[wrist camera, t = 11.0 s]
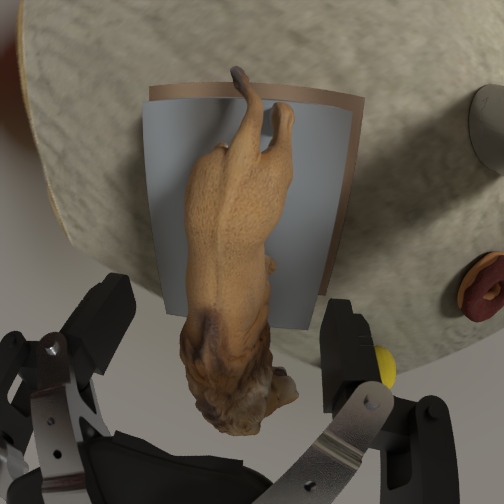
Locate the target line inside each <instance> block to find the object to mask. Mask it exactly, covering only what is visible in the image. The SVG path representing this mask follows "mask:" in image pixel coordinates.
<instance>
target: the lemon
mask: <svg viewBox="0 0 504 504" xmlns="http://www.w3.org/2000/svg"><path fill="white" fill-rule="evenodd" d="M373 347H374V348H375V352H376V357H377V361H378V366H379V370H380V375H381V380H382V383H383V384H384V385H385V386H387V387H388V388H389V389H390V388H391V387H392V385H393V384H394V382H395V378H396V365H395V361H394V359H393V357H392V355H391V353H390V352H389V351H388V350H387V349H385V348H383V347H381V346H373Z"/></svg>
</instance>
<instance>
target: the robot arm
mask: <svg viewBox="0 0 504 504" xmlns="http://www.w3.org/2000/svg"><path fill="white" fill-rule="evenodd" d="M469 131H470V137H471V142H472V144H473V147H474V150H475V152H476V154H477V156H478V158H479V159H480V160H481V161H482V163H483V164H485V165H486V166H487V167H488V168H490V169H492V170H494V171H495V172H497V173H499V174H500V175H502V176H504V86H502V85H496V84H489V85H486V86H483V87H482V88H481V89H480V90H479V91H478V92H477V93H476V95H475V96H474V99H473V101H472V104H471V108H470V113H469ZM135 312H136V301H135V298H134V294H133V291H132V287H131V283H130V279H129V277H128V276H127V275H124V274H118V273H109V274H108V275H107V276H106V278H105V279H104V280H103V282H102V283H98V284H97V285H95V286H94V287H93V288H91V289H90V290H89V291H88V293H87V294H86V295H85V297H84V298H83V300H82V301H81V302H80V304H79V305H78V307H77V308H76V309H75V310H74V312H73V313H72V314H71V316H70V317H69V318H68V320H67V321H66V323H65V324H64V326H63V327H62V329H61V330H60V331H59V332H51V333H48V334H46V335H45V336H43V338H41V340H40V341H26V339H25V338H24V336H23V335H22V333H21V332H19V331H12V332H10V333H8V334H6V335H5V336H4V337H3V339H2V340H1V342H0V497H1V498H3V499H4V500H5V501H6V503H7V504H331V503H332V502H333V501H334V499H335V498H336V497H337V496H338V495H339V493H340V492H341V491H342V490H343V489H344V487H345V486H346V485H347V483H348V482H349V481H350V480H351V478H352V477H353V476H354V474H355V473H356V471H357V470H358V468H359V467H360V465H361V463H362V461H361V459H362V457H363V456H364V454H365V453H366V451H367V450H368V448H372V449H377V450H380V458H381V490H380V504H460V495H459V478H458V467H457V458H456V450H455V443H454V436H453V432H452V431H453V430H452V425H451V420H450V415H449V410H448V407H447V405H446V403H445V402H444V401H443V400H442V399H441V398H439V397H437V396H433V395H429V396H425V397H423V398H422V399H421V400H419V402H414V401H409V400H406V399H401V398H398V397H396V396H394V395H393V394H392V392H391V391H390V389H389V388H388V387H387V386H385V385H384V384H383V383H382V380H381V375H380V370H379V366H378V361H377V357H376V352H375V348H374V347H373V345H374V344H373V340H372V337H371V331H370V327H369V324H368V323H367V321H366V320H365V319H364V317H363V316H362V315H361V314H353V310H352V306H351V302H350V300H346V299H332V298H331V299H330V300H329V302H328V305H327V308H326V312H325V315H324V318H323V321H322V325H321V329H320V354H321V369H322V387H323V409H324V413H332V417H333V420H332V422H331V423H330V424H329V425H328V427H327V428H326V429H325V430H324V431H323V433H322V434H321V435H320V436H319V437H318V438H317V439H316V440H315V441H314V443H313V444H312V445H311V446H310V447H309V448H308V449H307V450H306V452H305V453H304V454H303V455H302V456H301V457H300V458H299V459H298V460H297V461H296V462H295V463H294V464H293V466H291V467H290V468H289V469H288V470H287V472H285V473H284V474H283V475H282V476H281V477H280V478H279V479H278V480H277V481H276V482H275V483H274V484H273V483H272V482H271V481H270V480H269V479H268V478H266V477H265V476H264V475H262V474H260V473H259V472H257V471H254V470H252V469H250V468H248V467H245V466H243V460H236V459H228V458H221V457H215V456H209V455H208V456H173V455H171V454H169V453H167V452H165V451H163V450H161V449H159V448H157V447H155V446H154V445H152V444H150V443H149V442H147V441H145V440H143V439H140V438H137V437H134V436H131V435H128V434H125V433H122V432H119V431H117V430H116V431H115V434H114V436H111V434H110V432H109V430H108V428H107V426H106V425H105V423H104V421H103V419H102V416H101V412H100V409H99V405H98V401H97V397H96V393H95V388H94V384H93V380H92V378H91V377H92V375H93V373H97V374H100V375H104V373H105V371H106V369H107V367H108V365H109V363H110V361H111V359H112V357H113V355H114V353H115V351H116V349H117V348H118V345H119V344H120V342H121V340H122V338H123V336H124V334H125V332H126V330H127V329H128V327H129V325H130V323H131V321H132V320H133V318H134V315H135ZM17 374H18V375H19V376H20V377H21V378H22V382H21V384H20V386H19V388H18V390H17V392H16V394H15V396H14V398H13V401H12V403H11V404H10V403H9V402H8V399H7V394H8V391H9V389H10V387H11V385H12V383H13V381H14V379H15V377H16V376H17ZM33 430H34V437H35V443H36V448H37V453H38V459H39V463H40V467H38V468H37V469H35V470H32V471H30V472H28V471H29V466H28V464H27V463H26V462H25V461H24V454H25V451H26V448H27V446H28V443H29V440H30V437H31V435H32V432H33ZM27 472H28V473H27ZM24 473H26V474H24Z"/></svg>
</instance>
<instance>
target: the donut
mask: <svg viewBox="0 0 504 504" xmlns="http://www.w3.org/2000/svg"><path fill="white" fill-rule="evenodd" d="M457 302H458V307H459V308H460V310H461V311H462V312H463V314H464V315H465V316H466V317H467V318H468V319H470V320H471V321H474V322H476V323H477V322H482V321H484V320H487V319H489V318H491V317H492V316H493V315H494V314H495V313H497V311H499V310H500V309H501V308H502V307H503V306H504V252H491V253H489V254H487V255H486V256H484V257H483V258H482V259H481V260H480V261H478V262H477V263H476V264H475V265H474V266H473V267H472V268H471V269H470V270H469V271H468V273H467V274H466V276H465V277H464V279H463V281H462V283H461V285H460V288H459V291H458V296H457Z"/></svg>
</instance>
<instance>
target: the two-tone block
mask: <svg viewBox="0 0 504 504" xmlns="http://www.w3.org/2000/svg"><path fill="white" fill-rule="evenodd" d="M249 85H250V86H251V88H252V89H253V90H254V91H255V92H256V93H257V95H258V96H259V97H260V98H261V100H262V103H263V122H262V127H261V133H260V149H259V150H260V153H261V152H263V151H264V150H265V149H267V148H268V145H269V143H270V141H271V139H272V136H273V127H272V126H271V124H270V121H269V115H270V111H271V108H272V106H273V104H274V103H276V102H284V103H287V104H289V105H290V106H291V107H292V109H293V111H294V117H295V121H294V124H293V125H292V137H291V141H292V165H293V179H292V182H291V184H290V186H289V188H288V191H287V195H286V200H285V205H284V208H283V211H282V215H281V218H280V220H279V221H278V223H277V225H276V226H275V228H274V229H273V230H272V232H271V233H270V235H269V236H268V238H267V239H266V241H265V242H264V247H265V255H268V256H270V257H271V258H272V259H273V260H274V261H275V263H276V265H277V268H276V269H275V270H274V272H273V273H272V274H271V275H268V279H269V283H270V289H271V293H270V301H269V306H268V307H269V315H268V323H269V326H270V327H274V328H286V329H300V330H308V328H309V325H310V321H311V318H312V314H313V310H314V307H315V303H316V299H317V296H318V295H324V296H325V295H326V292H327V288H328V285H329V281H330V277H331V273H332V270H333V266H334V262H335V258H336V254H337V250H338V246H339V242H340V237H341V233H342V229H343V224H344V220H345V215H346V211H347V206H348V201H349V196H350V191H351V186H352V180H353V175H354V169H355V164H356V158H357V152H358V145H359V139H360V132H361V125H362V117H363V109H364V100H365V98H364V97H360V96H355V95H350V94H345V93H339V92H334V91H328V90H321V89H314V88H307V87H299V86H290V85H279V84H265V83H249ZM246 110H247V102H246V100H245V99H244V97H243V96H242V95H241V94H240V93H239V92H238V91H237V90H236V89H235V87H234V84H233V82H202V83H181V84H168V85H158V86H149V101H148V102H142V114H143V141H144V158H145V171H146V183H147V193H148V202H149V211H150V219H151V227H152V234H153V241H154V248H155V254H156V260H157V266H158V272H159V278H160V283H161V288H162V294H163V299H164V304H165V308H166V313H167V314H170V315H176V316H183V317H187V314H188V301H187V294H186V284H185V277H186V268H187V258H188V241H187V237H186V233H185V227H184V207H185V206H184V195H185V189H186V186H187V182H188V178H189V175H190V172H191V170H192V167H193V165H194V163H195V162H196V161H197V160H198V159H199V158H200V157H201V156H203V155H205V154H207V153H210V152H211V151H212V149H213V148H214V147H215V146H216V145H217V144H218V143H220V142H224V143H226V144H227V145H228V148H229V146H230V144H231V142H232V140H233V138H234V136H235V135H236V133H237V131H238V129H239V127H240V124H241V121H242V119H243V117H244V116H245V113H246Z"/></svg>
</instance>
